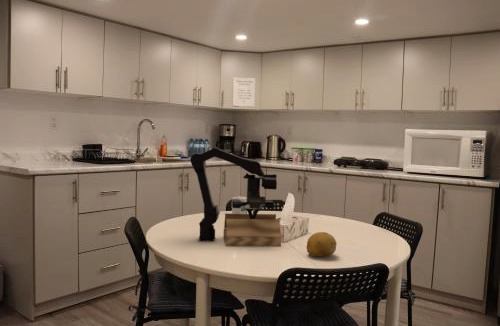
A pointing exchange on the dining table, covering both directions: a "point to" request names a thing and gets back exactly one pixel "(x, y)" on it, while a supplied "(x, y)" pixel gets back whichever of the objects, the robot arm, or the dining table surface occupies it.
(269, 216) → the far flap
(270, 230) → the near flap
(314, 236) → the potato
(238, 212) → the syrup box
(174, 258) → the dining table surface
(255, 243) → the carton
